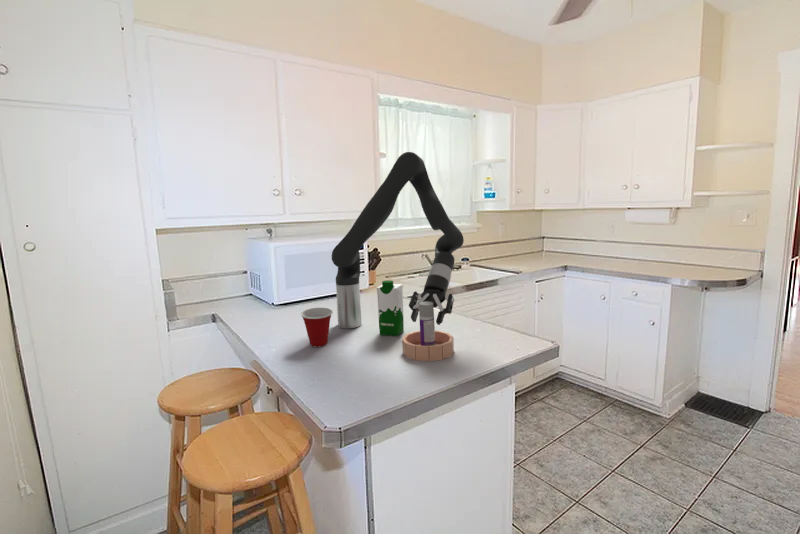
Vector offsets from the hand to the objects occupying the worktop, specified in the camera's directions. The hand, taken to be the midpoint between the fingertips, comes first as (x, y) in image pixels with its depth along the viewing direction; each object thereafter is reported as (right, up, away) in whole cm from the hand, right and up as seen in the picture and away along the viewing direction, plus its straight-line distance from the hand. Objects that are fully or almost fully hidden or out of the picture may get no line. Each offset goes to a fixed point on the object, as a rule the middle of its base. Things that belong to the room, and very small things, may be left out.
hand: (425, 322), depth 127 cm
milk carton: (-11, -7, +23) cm, 27 cm away
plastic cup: (-36, -10, +13) cm, 40 cm away
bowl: (+1, -10, +3) cm, 10 cm away
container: (+1, -9, +3) cm, 9 cm away
